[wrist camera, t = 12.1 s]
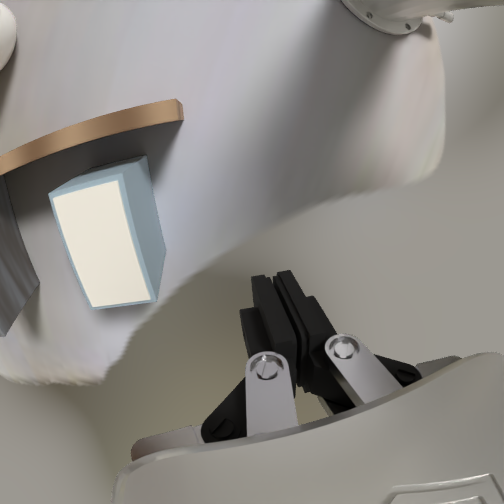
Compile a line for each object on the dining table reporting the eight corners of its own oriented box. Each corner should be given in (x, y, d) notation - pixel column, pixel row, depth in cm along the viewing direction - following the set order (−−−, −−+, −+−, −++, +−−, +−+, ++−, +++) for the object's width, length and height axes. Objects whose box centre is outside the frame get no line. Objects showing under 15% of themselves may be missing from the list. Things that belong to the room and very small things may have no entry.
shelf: (182, 104, 22) (171, 94, 13) (204, 256, 29) (209, 318, 20) (-29, 178, 18) (-81, 207, 10) (8, 287, 26) (-26, 336, 17)
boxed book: (146, 154, 23) (121, 173, 16) (166, 250, 28) (156, 303, 20) (90, 168, 23) (46, 194, 15) (114, 259, 27) (90, 311, 20)
